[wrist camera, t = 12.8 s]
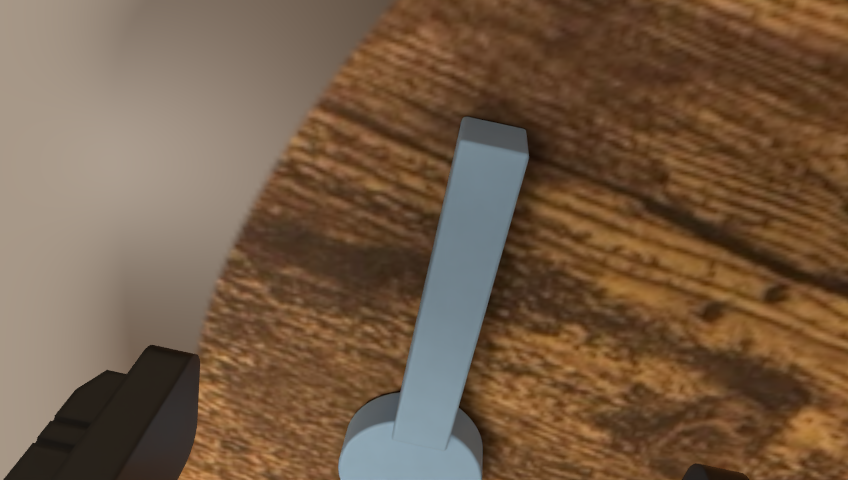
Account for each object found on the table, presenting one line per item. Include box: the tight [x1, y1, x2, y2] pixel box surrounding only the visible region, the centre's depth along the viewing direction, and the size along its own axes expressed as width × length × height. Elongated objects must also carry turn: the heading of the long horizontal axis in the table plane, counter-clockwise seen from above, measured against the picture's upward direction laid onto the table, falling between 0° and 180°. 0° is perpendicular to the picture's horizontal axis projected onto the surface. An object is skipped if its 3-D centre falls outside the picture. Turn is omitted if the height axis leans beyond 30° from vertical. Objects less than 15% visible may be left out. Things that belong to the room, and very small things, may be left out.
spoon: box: [338, 117, 529, 480], centre depth 17 cm, size 11×4×2 cm, turn 169°
